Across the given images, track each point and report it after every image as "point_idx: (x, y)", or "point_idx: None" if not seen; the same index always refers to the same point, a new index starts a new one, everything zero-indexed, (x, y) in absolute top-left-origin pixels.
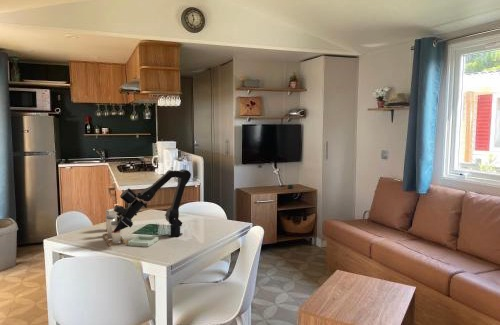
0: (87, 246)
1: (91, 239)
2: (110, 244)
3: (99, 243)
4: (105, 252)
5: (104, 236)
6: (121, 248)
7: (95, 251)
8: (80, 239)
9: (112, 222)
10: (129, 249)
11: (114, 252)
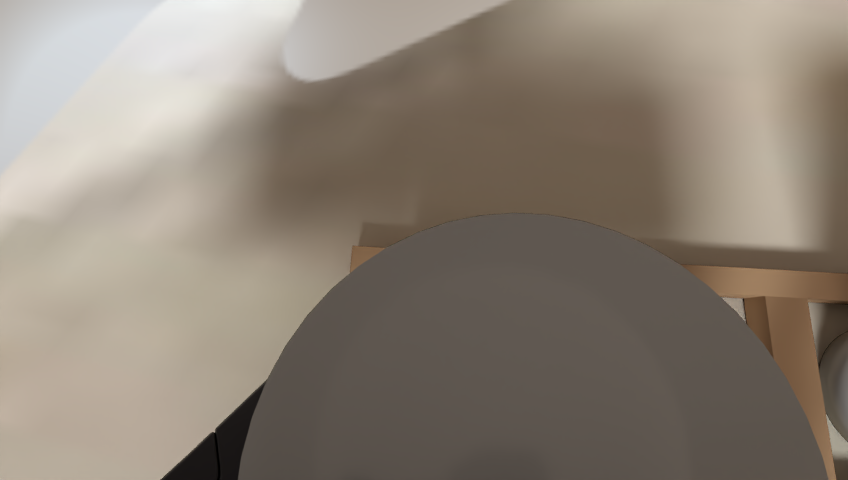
0: (498, 40)
1: (795, 120)
2: (352, 262)
3: (559, 172)
4: (144, 163)
5: (823, 272)
6: (172, 372)
7: (254, 80)
8: (841, 16)
9: (455, 268)
10: (53, 462)
11: (71, 252)
